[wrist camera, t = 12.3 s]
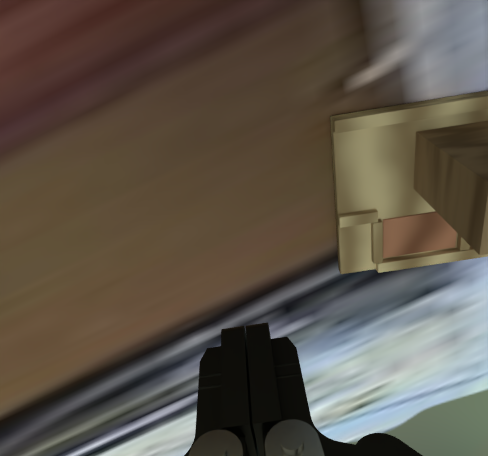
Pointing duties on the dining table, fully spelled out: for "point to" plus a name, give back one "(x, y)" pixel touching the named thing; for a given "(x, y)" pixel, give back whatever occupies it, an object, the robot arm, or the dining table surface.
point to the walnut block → (456, 178)
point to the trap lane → (393, 186)
